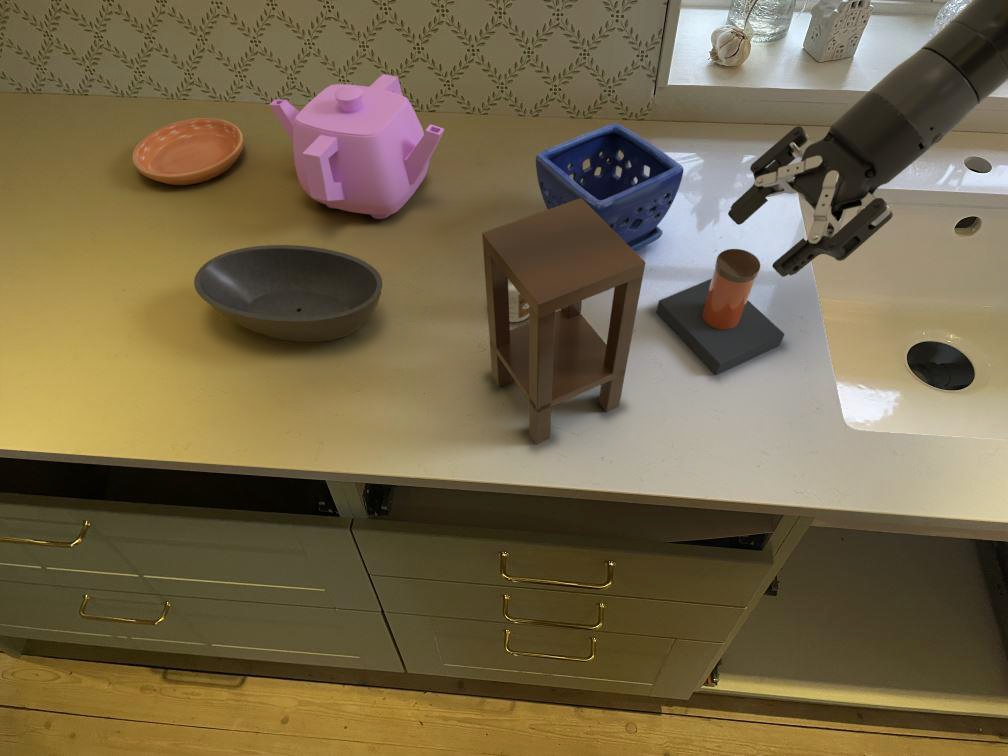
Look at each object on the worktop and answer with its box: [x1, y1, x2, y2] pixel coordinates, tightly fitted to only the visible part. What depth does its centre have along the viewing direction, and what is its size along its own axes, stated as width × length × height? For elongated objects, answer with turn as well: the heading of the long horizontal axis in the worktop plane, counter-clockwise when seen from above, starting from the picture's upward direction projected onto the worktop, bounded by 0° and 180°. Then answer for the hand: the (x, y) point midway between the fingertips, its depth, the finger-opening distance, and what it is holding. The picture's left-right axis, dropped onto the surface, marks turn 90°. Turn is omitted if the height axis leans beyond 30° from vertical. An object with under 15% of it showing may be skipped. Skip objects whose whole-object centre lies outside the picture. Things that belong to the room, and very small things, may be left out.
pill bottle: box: [508, 279, 529, 323], centre depth 75 cm, size 4×4×8 cm
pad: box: [656, 278, 785, 376], centre depth 74 cm, size 11×9×2 cm
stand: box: [481, 198, 646, 445], centre depth 62 cm, size 10×10×20 cm
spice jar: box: [702, 248, 761, 330], centre depth 70 cm, size 4×4×8 cm
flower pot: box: [535, 122, 684, 252], centre depth 81 cm, size 13×13×12 cm
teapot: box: [268, 73, 445, 220], centre depth 88 cm, size 19×18×15 cm
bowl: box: [193, 244, 383, 343], centre depth 75 cm, size 12×22×6 cm, turn 79°
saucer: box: [131, 117, 245, 186], centre depth 99 cm, size 16×16×3 cm
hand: (754, 244), depth 66 cm, fingers open, 8 cm apart
